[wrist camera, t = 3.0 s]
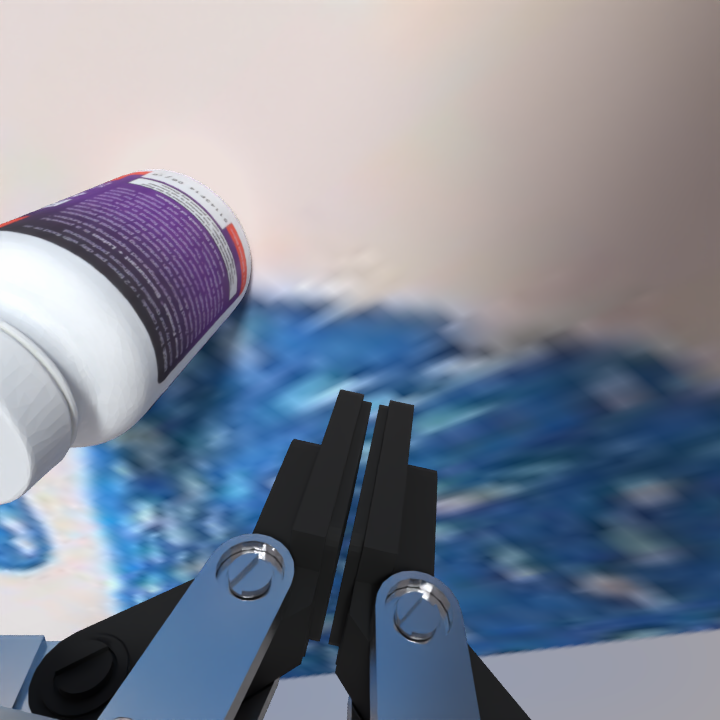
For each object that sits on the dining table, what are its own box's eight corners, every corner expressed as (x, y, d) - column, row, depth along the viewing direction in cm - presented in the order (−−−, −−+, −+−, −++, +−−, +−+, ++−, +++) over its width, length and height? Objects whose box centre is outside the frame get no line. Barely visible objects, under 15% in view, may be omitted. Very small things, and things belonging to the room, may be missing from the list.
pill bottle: (124, 130, 16) (-249, 226, 7) (280, 223, 16) (96, 404, 8) (89, 271, 18) (-207, 452, 10) (223, 345, 19) (45, 568, 11)
